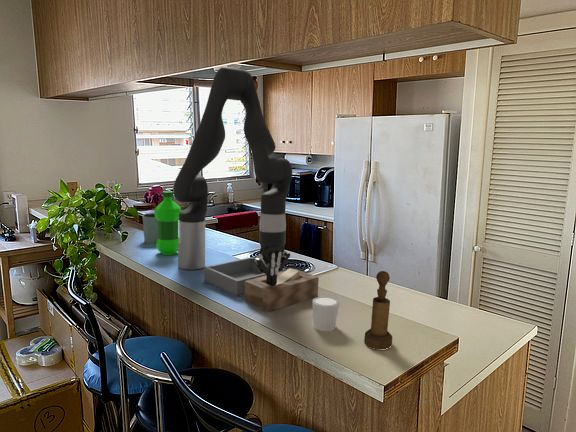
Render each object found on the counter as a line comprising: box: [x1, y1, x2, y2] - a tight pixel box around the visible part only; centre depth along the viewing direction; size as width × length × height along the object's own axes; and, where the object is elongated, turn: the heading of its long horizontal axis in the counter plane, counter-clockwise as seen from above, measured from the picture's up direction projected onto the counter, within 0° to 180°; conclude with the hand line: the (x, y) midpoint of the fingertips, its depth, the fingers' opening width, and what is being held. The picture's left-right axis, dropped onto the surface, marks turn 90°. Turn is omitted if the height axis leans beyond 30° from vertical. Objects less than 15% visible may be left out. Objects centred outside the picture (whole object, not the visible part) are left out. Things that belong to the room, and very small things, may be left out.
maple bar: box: [276, 267, 300, 285], centre depth 132 cm, size 12×4×2 cm, turn 133°
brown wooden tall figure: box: [363, 270, 393, 350], centre depth 104 cm, size 7×6×18 cm
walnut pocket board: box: [243, 268, 320, 312], centre depth 133 cm, size 20×11×6 cm, turn 133°
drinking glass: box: [141, 212, 158, 245], centre depth 196 cm, size 10×10×12 cm
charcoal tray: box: [203, 256, 287, 298], centre depth 146 cm, size 20×18×5 cm
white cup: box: [312, 296, 340, 332], centre depth 114 cm, size 7×7×7 cm
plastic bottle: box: [153, 190, 182, 256], centre depth 176 cm, size 10×10×25 cm
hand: (271, 286), depth 129 cm, fingers closed
